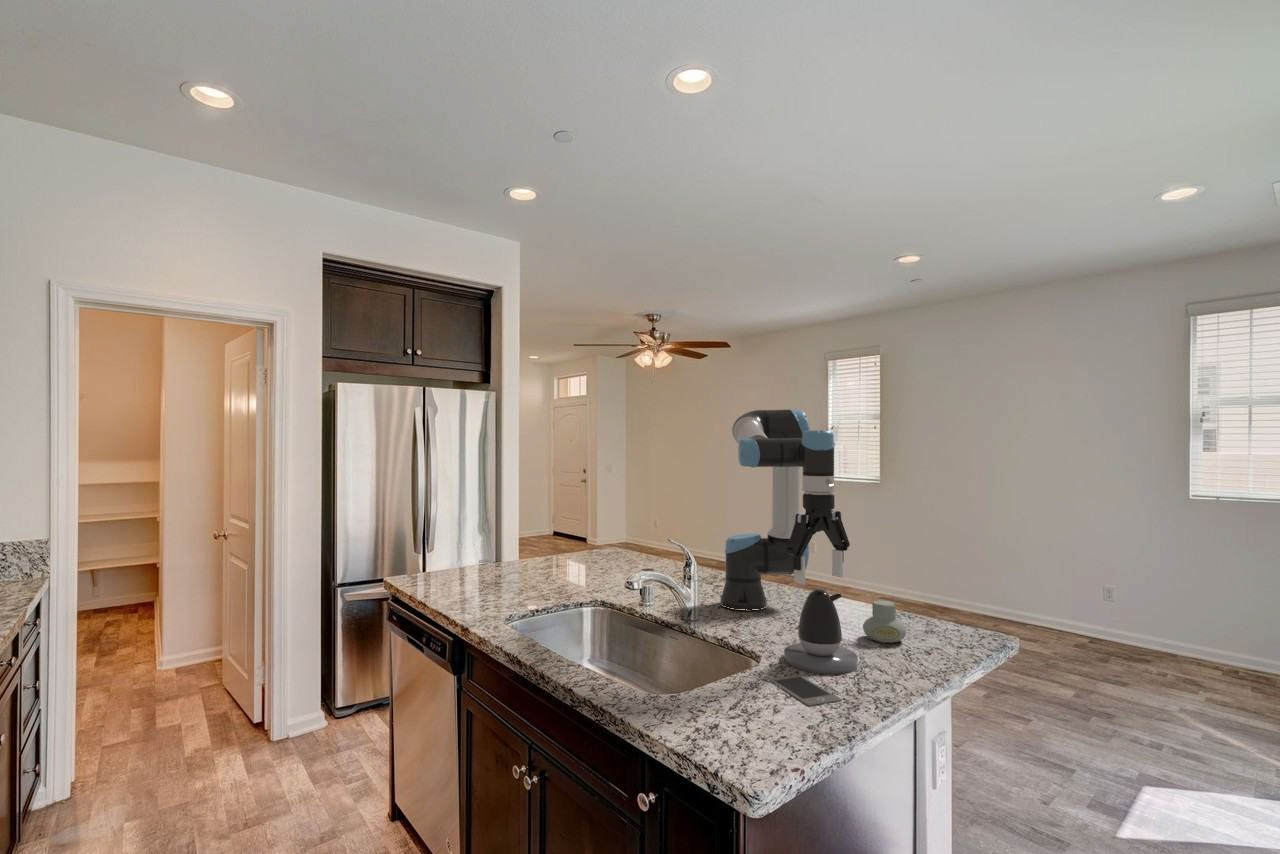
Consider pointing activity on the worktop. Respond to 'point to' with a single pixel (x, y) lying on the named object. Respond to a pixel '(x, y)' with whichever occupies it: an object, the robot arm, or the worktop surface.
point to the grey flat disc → (821, 660)
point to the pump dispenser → (820, 624)
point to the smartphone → (805, 690)
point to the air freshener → (884, 623)
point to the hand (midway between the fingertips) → (819, 580)
